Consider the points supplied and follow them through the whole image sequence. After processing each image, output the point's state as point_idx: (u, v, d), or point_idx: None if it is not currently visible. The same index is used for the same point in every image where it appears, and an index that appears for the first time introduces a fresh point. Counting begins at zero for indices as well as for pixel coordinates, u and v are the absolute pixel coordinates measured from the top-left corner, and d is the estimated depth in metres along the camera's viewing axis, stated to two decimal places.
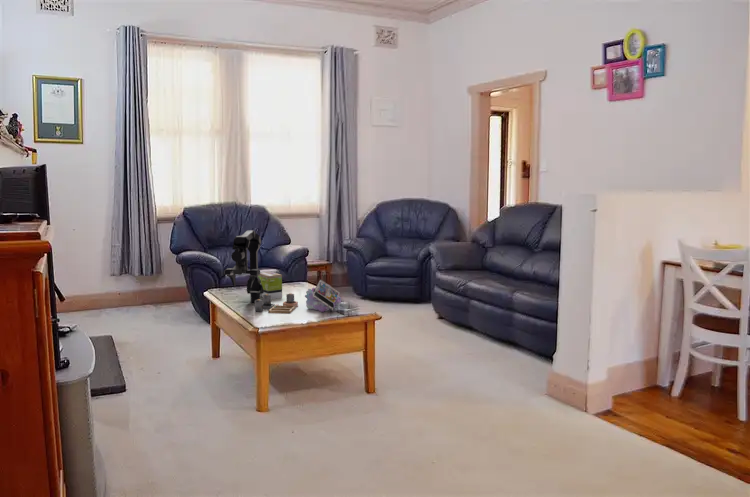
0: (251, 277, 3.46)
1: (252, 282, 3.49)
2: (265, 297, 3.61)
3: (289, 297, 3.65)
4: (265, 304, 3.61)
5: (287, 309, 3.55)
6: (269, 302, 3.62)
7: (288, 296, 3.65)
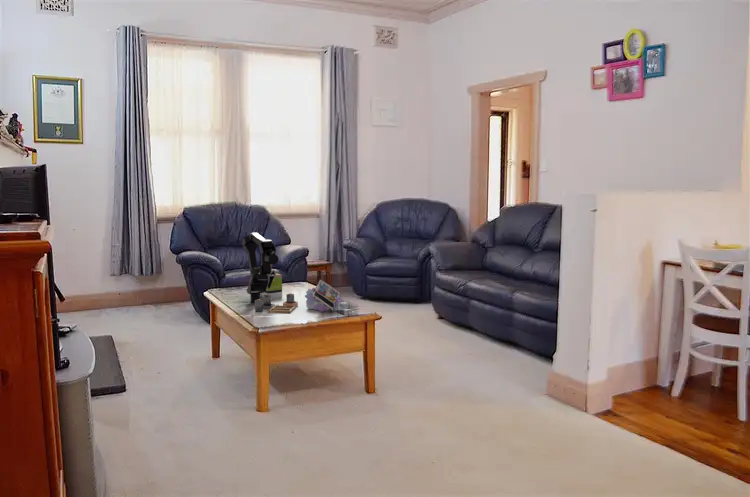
0: None
1: (264, 286, 3.56)
2: (265, 297, 3.61)
3: (289, 297, 3.65)
4: (265, 304, 3.61)
5: (287, 309, 3.55)
6: (269, 302, 3.62)
7: (288, 296, 3.65)
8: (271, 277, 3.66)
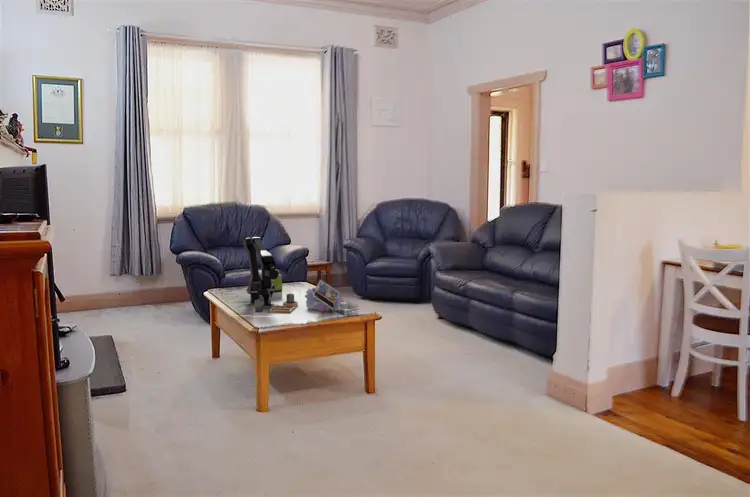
0: None
1: (266, 300, 3.59)
2: None
3: (289, 297, 3.65)
4: None
5: (287, 309, 3.55)
6: (269, 302, 3.62)
7: (288, 296, 3.65)
8: (270, 292, 3.65)
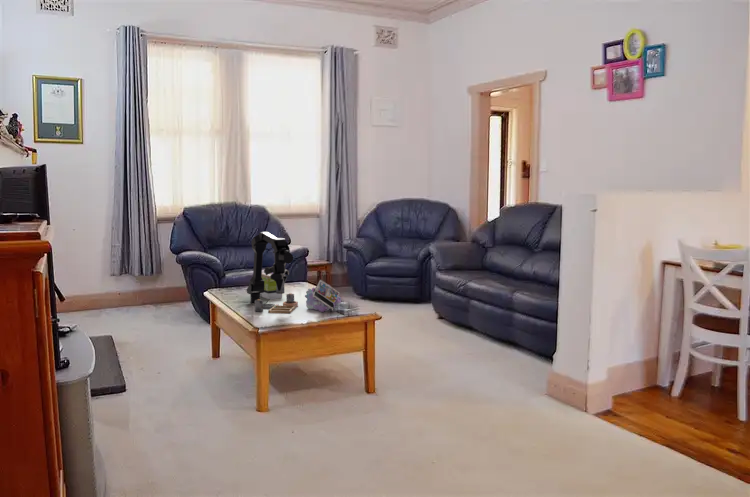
0: None
1: (279, 285, 3.47)
2: None
3: (289, 297, 3.65)
4: None
5: (287, 309, 3.55)
6: (282, 287, 3.50)
7: (288, 296, 3.65)
8: (283, 277, 3.53)
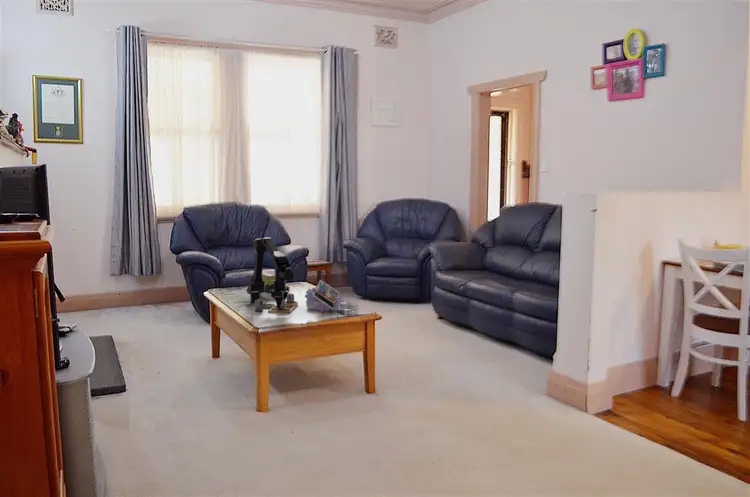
0: None
1: (278, 303, 3.46)
2: None
3: (289, 297, 3.65)
4: (279, 308, 3.50)
5: (287, 309, 3.55)
6: (283, 306, 3.51)
7: (288, 296, 3.65)
8: (285, 293, 3.56)
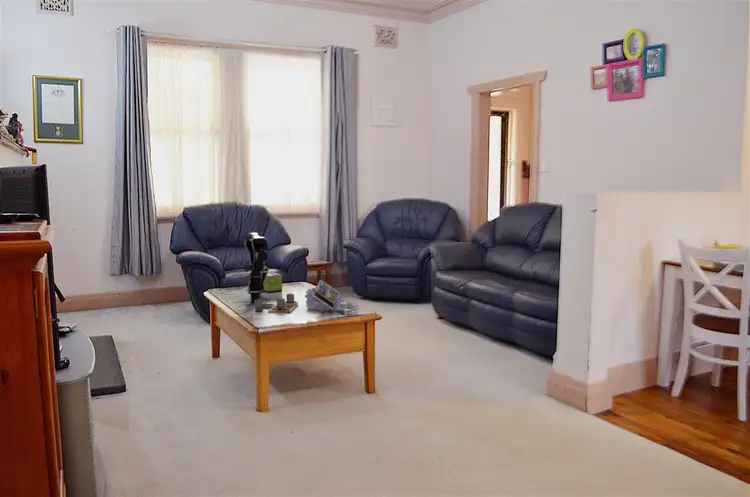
0: None
1: (257, 283, 3.57)
2: (279, 301, 3.50)
3: (289, 297, 3.65)
4: (279, 308, 3.50)
5: (287, 309, 3.55)
6: (283, 306, 3.51)
7: (288, 296, 3.65)
8: (264, 274, 3.67)
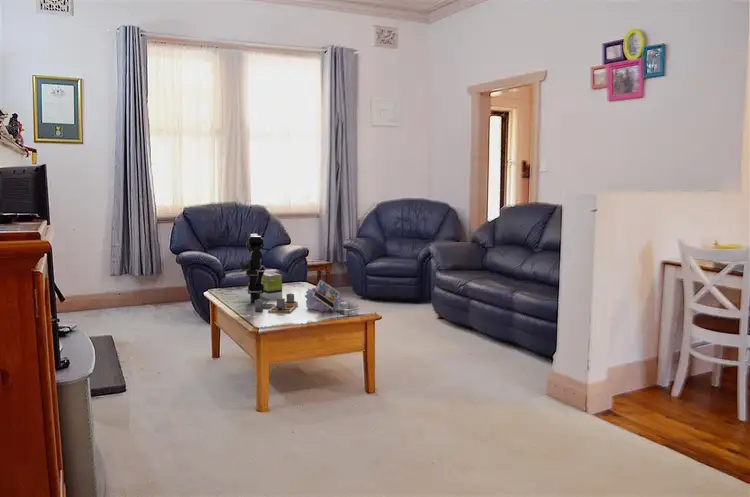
0: None
1: (253, 281, 3.59)
2: (279, 301, 3.50)
3: (289, 297, 3.65)
4: (279, 308, 3.50)
5: (287, 309, 3.55)
6: (283, 306, 3.51)
7: (288, 296, 3.65)
8: (260, 273, 3.69)
